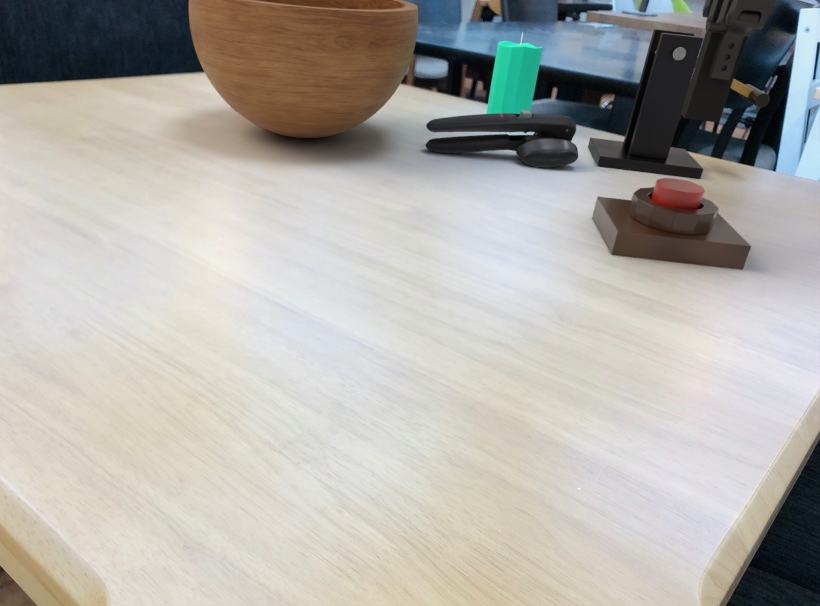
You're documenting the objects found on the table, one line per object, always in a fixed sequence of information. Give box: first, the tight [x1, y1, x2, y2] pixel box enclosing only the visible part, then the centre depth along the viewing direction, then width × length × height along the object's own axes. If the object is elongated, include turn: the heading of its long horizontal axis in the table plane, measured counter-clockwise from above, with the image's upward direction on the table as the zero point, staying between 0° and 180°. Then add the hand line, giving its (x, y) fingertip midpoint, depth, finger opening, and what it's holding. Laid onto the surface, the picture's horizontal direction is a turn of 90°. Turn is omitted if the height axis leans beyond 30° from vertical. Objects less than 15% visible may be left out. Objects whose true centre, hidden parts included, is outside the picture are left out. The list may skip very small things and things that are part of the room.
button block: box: [591, 186, 752, 271], centre depth 62 cm, size 11×9×4 cm
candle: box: [485, 31, 544, 114], centre depth 95 cm, size 6×6×12 cm
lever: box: [655, 51, 771, 109], centre depth 81 cm, size 13×6×2 cm, turn 82°
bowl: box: [188, 0, 419, 139], centre depth 81 cm, size 25×25×15 cm
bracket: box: [587, 28, 704, 179], centre depth 84 cm, size 12×9×15 cm
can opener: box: [425, 110, 580, 168], centre depth 82 cm, size 18×7×6 cm, turn 88°
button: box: [651, 177, 706, 210], centre depth 61 cm, size 4×4×2 cm
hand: (699, 118), depth 58 cm, fingers closed
